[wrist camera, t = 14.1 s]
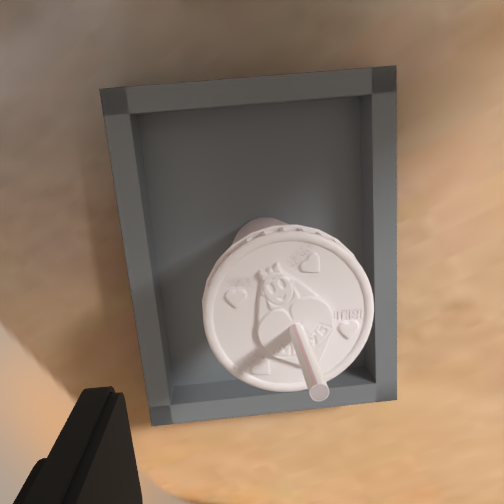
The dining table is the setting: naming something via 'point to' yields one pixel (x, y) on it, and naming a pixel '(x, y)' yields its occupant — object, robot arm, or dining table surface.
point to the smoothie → (287, 307)
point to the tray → (251, 216)
